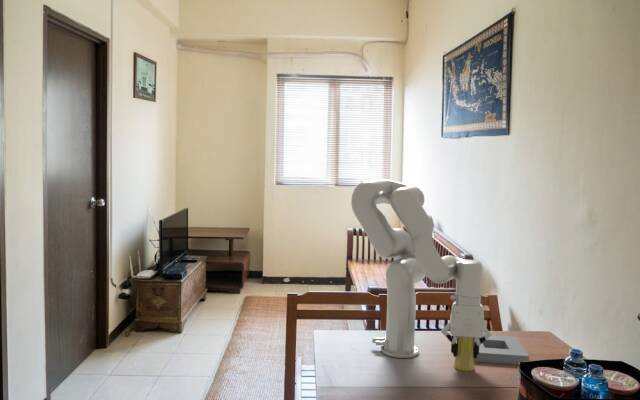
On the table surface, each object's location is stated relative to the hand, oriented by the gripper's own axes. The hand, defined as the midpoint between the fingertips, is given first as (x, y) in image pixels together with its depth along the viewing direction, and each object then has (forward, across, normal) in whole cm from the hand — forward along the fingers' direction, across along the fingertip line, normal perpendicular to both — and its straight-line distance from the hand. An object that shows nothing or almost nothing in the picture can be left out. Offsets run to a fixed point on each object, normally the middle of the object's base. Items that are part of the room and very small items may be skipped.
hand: (464, 355), depth 173 cm
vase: (+4, 0, 0) cm, 4 cm away
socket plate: (+4, +12, +15) cm, 20 cm away
